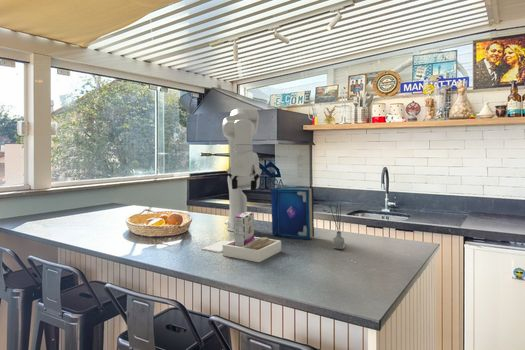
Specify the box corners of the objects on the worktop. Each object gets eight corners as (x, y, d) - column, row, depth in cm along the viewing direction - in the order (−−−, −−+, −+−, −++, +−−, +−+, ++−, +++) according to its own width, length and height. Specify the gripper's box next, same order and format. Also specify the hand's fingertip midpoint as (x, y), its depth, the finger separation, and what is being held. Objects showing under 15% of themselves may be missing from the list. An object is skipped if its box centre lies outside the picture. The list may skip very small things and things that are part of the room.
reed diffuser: (342, 252, 153) (342, 205, 151) (326, 250, 156) (326, 204, 154) (347, 246, 162) (347, 202, 160) (332, 244, 165) (332, 201, 163)
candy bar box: (244, 247, 161) (244, 211, 159) (254, 248, 159) (254, 212, 158) (234, 254, 150) (233, 216, 149) (244, 256, 148) (244, 216, 147)
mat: (201, 249, 158) (201, 248, 158) (223, 241, 172) (223, 240, 172) (219, 252, 153) (219, 251, 153) (240, 244, 166) (240, 243, 166)
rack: (222, 255, 149) (222, 244, 149) (246, 245, 165) (246, 235, 164) (259, 262, 140) (259, 250, 140) (281, 250, 155) (281, 240, 155)
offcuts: (248, 257, 146) (248, 243, 146) (263, 250, 156) (263, 237, 156) (258, 259, 144) (258, 245, 143) (273, 252, 154) (273, 238, 153)
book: (269, 235, 182) (269, 187, 181) (275, 233, 189) (275, 185, 187) (309, 240, 172) (309, 189, 170) (314, 237, 178) (314, 187, 177)
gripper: (221, 149, 153) (222, 189, 154) (256, 148, 143) (256, 191, 145) (232, 149, 159) (232, 187, 160) (265, 148, 150) (266, 189, 151)
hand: (244, 189), depth 152 cm, fingers open, 9 cm apart
